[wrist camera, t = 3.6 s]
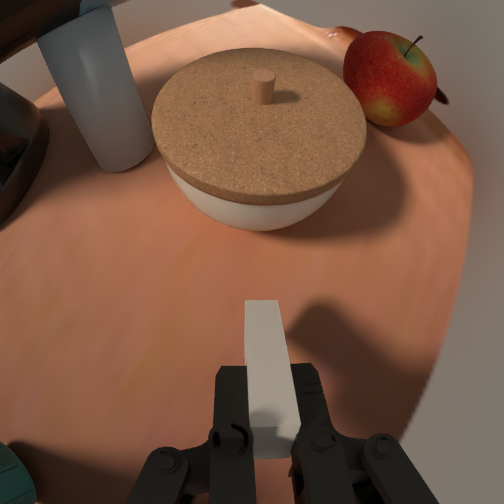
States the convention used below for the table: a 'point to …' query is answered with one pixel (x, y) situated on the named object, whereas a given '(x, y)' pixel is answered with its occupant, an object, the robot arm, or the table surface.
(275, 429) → the robot arm
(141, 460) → the table surface
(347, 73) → the apple
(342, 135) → the lidded jar
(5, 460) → the beverage bottle
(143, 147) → the post
